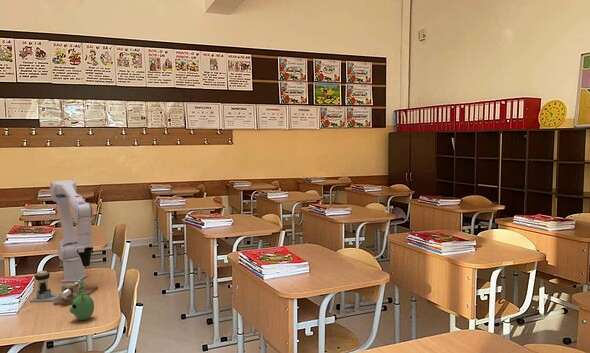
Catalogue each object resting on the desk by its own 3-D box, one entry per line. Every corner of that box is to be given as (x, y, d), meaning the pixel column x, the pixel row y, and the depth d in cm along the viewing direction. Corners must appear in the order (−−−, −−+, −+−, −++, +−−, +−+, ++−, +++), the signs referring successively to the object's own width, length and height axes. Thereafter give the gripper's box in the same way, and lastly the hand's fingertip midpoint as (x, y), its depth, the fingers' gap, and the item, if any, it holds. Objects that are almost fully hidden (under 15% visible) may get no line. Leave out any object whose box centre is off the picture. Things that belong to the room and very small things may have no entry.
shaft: (74, 289, 192) (74, 279, 192) (84, 288, 192) (84, 279, 192) (57, 301, 178) (56, 290, 177) (68, 301, 178) (67, 290, 177)
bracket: (75, 289, 199) (74, 274, 198) (97, 288, 199) (96, 274, 198) (53, 305, 180) (52, 289, 179) (77, 304, 180) (76, 288, 179)
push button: (56, 294, 191) (54, 269, 190) (54, 298, 186) (52, 272, 185) (37, 296, 189) (35, 271, 188) (34, 300, 184) (32, 274, 183)
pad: (39, 296, 191) (39, 294, 191) (62, 295, 191) (62, 293, 191) (30, 302, 184) (30, 300, 184) (53, 301, 184) (53, 299, 184)
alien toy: (69, 318, 165) (67, 290, 165) (94, 314, 169) (92, 286, 168) (70, 325, 159) (68, 295, 158) (95, 320, 163) (94, 291, 162)
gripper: (77, 230, 204) (80, 262, 205) (69, 237, 190) (71, 271, 191) (95, 229, 206) (97, 260, 207) (88, 236, 191) (90, 269, 192)
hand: (86, 265), depth 199 cm, fingers closed
